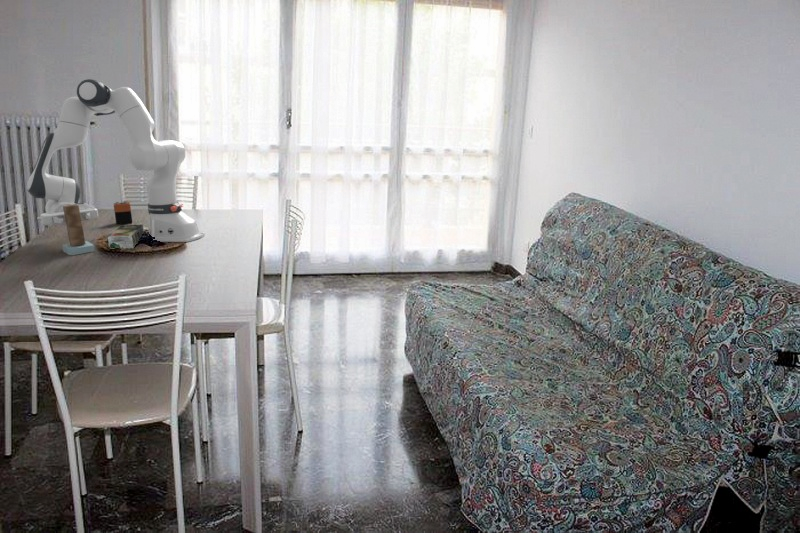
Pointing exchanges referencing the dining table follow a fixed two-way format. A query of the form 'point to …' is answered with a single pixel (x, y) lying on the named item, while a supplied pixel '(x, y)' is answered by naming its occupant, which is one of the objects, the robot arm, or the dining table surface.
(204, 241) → the dining table surface
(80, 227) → the walnut post
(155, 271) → the dining table surface
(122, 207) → the battery
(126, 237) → the juice carton
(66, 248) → the teal block
